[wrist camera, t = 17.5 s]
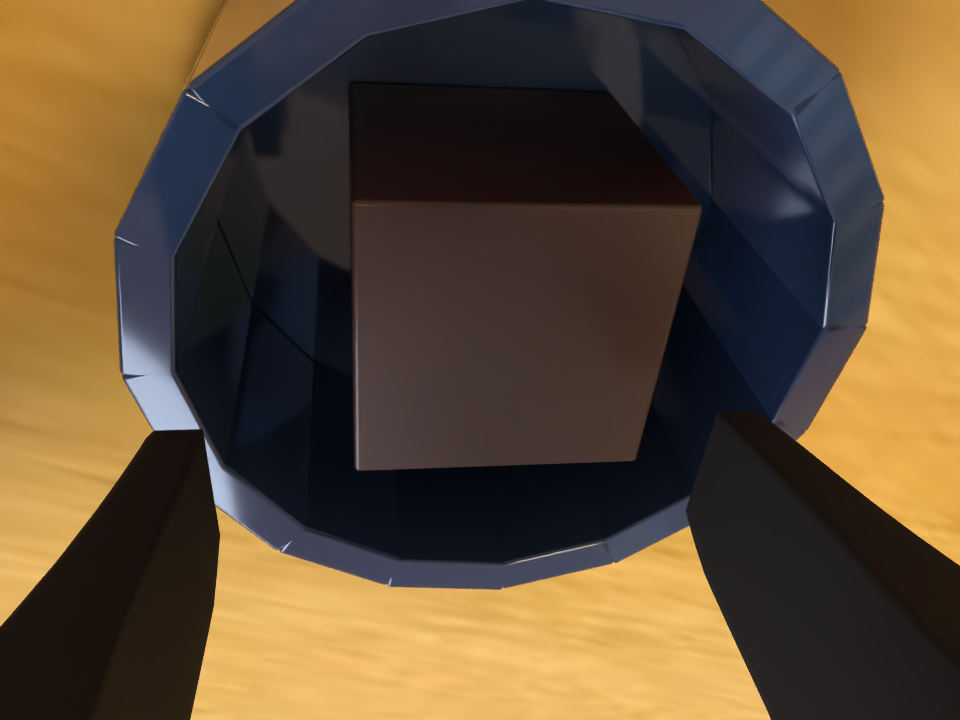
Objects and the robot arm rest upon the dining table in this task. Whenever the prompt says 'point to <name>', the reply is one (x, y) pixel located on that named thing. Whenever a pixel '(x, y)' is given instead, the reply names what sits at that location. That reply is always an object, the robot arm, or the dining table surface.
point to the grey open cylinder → (327, 268)
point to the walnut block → (507, 275)
